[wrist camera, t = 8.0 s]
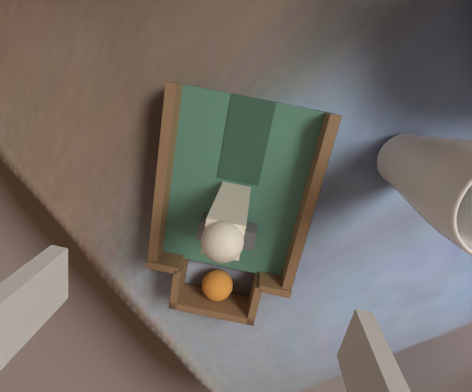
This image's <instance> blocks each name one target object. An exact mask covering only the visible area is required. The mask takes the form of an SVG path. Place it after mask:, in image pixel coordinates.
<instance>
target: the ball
mask: <svg viewBox="0 0 472 392" xmlns="http://www.w3.org/2000/svg"><path fill="white" fill-rule="evenodd" d="M232 288H233V283H232V279H231V277H230V275H229V274H228V273H227V272H225V271H223V270H219V269H216V270H212V271H210V272H208V273H207V274H206V275H205V277H204V279H203V281H202V290H203V293H204V294H205V296H206V297H207V298H208V299H210V300H212V301H222V300H224V299H226V298H227V297H228V296H229V295H230V293H231V291H232Z"/></svg>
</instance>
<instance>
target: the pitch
mask: <svg viewBox="0 0 472 392" xmlns="http://www.w3.org/2000/svg"><path fill="white" fill-rule="evenodd" d="M341 117H342V116H339V115H336V114H333V113H328V112H323V111H317V110H312V109H307V108H302V107H297V106H292V105H287V104H282V103H277V102H272V101H267V100H262V99H256V98H251V97H246V96H241V95H236V94H231V93H226V92H221V91H216V90H211V89H206V88H200V87H195V86H190V85H185V84H180V83H174V82H165V92H164V102H163V112H162V122H161V131H160V141H159V151H158V161H157V171H156V181H155V190H154V200H153V210H152V220H151V230H150V239H149V249H148V259H147V261H146V268H148V269H152V270H157V271H162V272H167V273H172V274H173V279H172V287H171V294H170V301H169V308H171V309H176V310H180V311H185V312H190V313H195V314H199V315H204V316H209V317H214V318H218V319H223V320H228V321H233V322H237V323H242V324H247V325H252V326H253V324H254V320H255V316H256V312H257V308H258V304H259V301H260V297H261V293H262V292H263V293H267V294H272V295H277V296H282V297H286V298H290V296H291V289H292V285H293V282H294V279H295V275H296V272H297V268H298V265H299V261H300V258H301V254H302V251H303V248H304V244H305V241H306V237H307V234H308V230H309V227H310V223H311V220H312V217H313V213H314V210H315V206H316V203H317V199H318V196H319V193H320V189H321V186H322V182H323V179H324V175H325V172H326V168H327V165H328V162H329V158H330V155H331V151H332V148H333V144H334V141H335V137H336V134H337V131H338V127H339V124H340V120H341ZM223 181H224V182H229V183H234V184H239V185H244V186H249V187H251V192H250V200H249V208H248V216H247V222H249V223H254V224H257V236H256V240H255V245H254V249H253V251H251V250H246V249H242V251H241V253H240V257H239V261H235V260H233V261H231V262H228V263H217V262H214V261H212V260H210V259H209V258H208V257H207V256H206V255H205V254H202V253H201V248H202V246H201V240H198V239H196V238H197V232H198V225H199V221H200V219H201V217H202V215H203V213H205V214H208V213H209V211H210V209H211V207H212V205H213V202H214V200H215V198H216V196H217V194H218V191H219V189H220V187H221V185H222V182H223ZM188 259H189V260H194V261H199V262H204V263H208V264H213V265H218V266H223V267H228V268H232V269H237V270H242V271H247V272H252V273H255V274H254V278H253V282H252V286H251V290H250V295H249V296H245V295H240V294H235V293H230V295H229V296H228V297H227V298H226V299H224V300H222V301H212V300H210V299H208V298H207V297H206V296H205V294H204V293H203V290H202V286H197V285H192V284H187V283H185V278H186V272H187V265H188Z"/></svg>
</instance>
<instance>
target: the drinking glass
mask: <svg viewBox="0 0 472 392" xmlns="http://www.w3.org/2000/svg"><path fill="white" fill-rule="evenodd" d="M377 169H378V172H379V174H380V175H381V177H382V178H383V179H384V180H385V181H387V182H388V183H390V184H391V185H392V186H393V187H394V188H395V189H396V190H397V191H398V192H399V193H400V194H401V196H402V197H403V198H404V199H405V200H406V201H407V202H408V203H409V204H410V205H411V206H412V207H413V208H414V209H415V210H416V211H417V212H418V213H419V215H420V216H421V217H422V218H423V219H424V220H425V221H426V222H428V223H429V224H430V225H431V226H432V227H433V228H434V229H435V230H437V231H438V232H439V233H440V234H442V235H443V236H444V237H445V238H447V239H448V240H450V241H451V242H452V243H454V244H455V245H457V246H458V247H460V248H461V249H463V250H464V251H465V252H467V253H468V254H470V255H472V140H465V139H454V138H443V137H433V136H424V135H419V134H415V133H403V134H399V135H396V136H394V137H392V138H391V139H389V140H388V141H387V142H386V143H385V144H384V145H383V146H382V147H381V149H380V151H379V153H378V156H377Z"/></svg>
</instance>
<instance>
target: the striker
mask: <svg viewBox="0 0 472 392" xmlns="http://www.w3.org/2000/svg"><path fill="white" fill-rule="evenodd" d="M250 192H251V187H249V186H244V185H239V184H234V183H229V182H224V181H223V182H222V185H221V187H220V189H219V191H218V194H217V196H216V198H215V200H214V202H213V205H212V207H211V209H210V211H209V213H208V214H205V213H203V215H202V217H201V219H200V221H199V225H198V232H197V238H196V239H198V240H201V246H202V248H201V253H202V254H205V255H206V256H207V257H208V258H209V259H210V260H212V261H214V262H217V263H228V262H231V261H233V260H235V261H239V257H240V253H241V251H242V249H246V250H251V251H253V249H254V245H255V240H256V236H257V224H254V223H249V222H247V216H248V208H249V200H250Z"/></svg>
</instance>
